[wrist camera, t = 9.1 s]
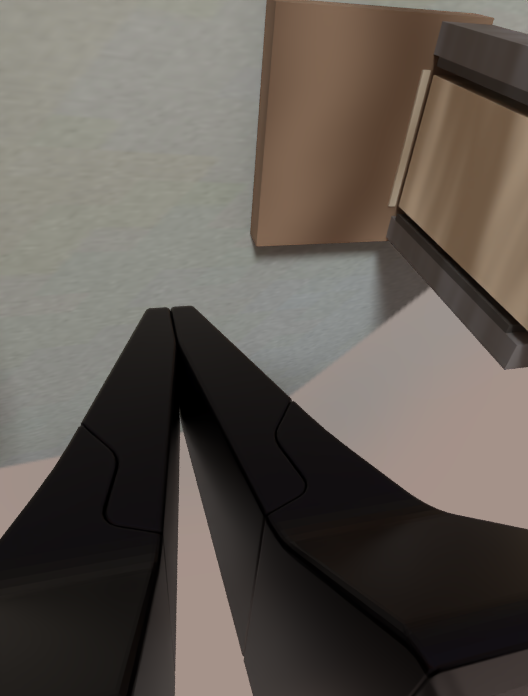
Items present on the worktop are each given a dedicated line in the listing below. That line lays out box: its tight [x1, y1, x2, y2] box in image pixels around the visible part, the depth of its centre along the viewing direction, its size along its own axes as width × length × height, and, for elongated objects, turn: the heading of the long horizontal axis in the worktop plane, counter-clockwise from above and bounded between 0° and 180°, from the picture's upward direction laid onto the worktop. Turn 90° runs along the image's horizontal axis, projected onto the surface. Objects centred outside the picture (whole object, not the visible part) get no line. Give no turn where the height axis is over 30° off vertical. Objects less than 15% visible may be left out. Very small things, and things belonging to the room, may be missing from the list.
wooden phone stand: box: [250, 0, 528, 370], centre depth 16 cm, size 8×9×10 cm
